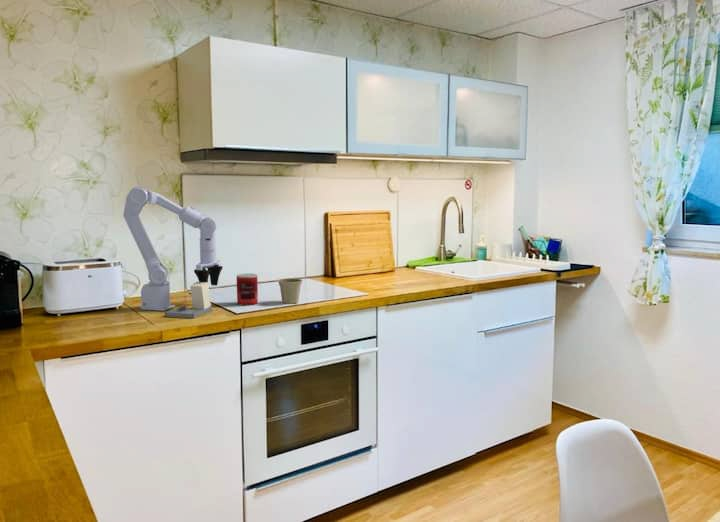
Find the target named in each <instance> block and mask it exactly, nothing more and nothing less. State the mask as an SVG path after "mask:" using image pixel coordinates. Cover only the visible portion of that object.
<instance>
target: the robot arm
mask: <svg viewBox="0 0 720 522" xmlns="http://www.w3.org/2000/svg"><path fill="white" fill-rule="evenodd" d="M147 203H148V205H158V206H160V207H162V208H164V209H166V210H168V211H170V212H171V213H174V214H175V215H178V218H179V221H181V222H182V223H185V224H187V225H188V226H190V227H192V228H194V229H199V231H200V232H199V233H200V234H199V235H200V237H199V255H200V256H199V257H200V261H199V263H197V264H195V269H194V270H193V272H194V274H195V276H196V277H197V279H198V282H208V283H209V280H210V285H211V286H214V287H215V286H218V283H219V279H220V275H221V272H222V270H223V266H222V265H221V260H220V259H218V260H217V238H216V232H215V231H216V229H217V225H216V222H215V221H214V220H213V219H212V218H210V217H208V216H207V214H206V213H201V212H199V211H197V210H195V207H193V206H189V205H187V206H183V207H182V206H181V205H179V204H177V203H175V202H174V201H172V200H171V199H169V198H166V197H165V196H163V195H162V194H160V193H158V192H154V191H152V190H148V189H146V188H145V187H142V186H135V187H133V188H131V189H130V190H129V192H128V194H127V196H126V197H125V203H124V204H125V205H124V208H123V213H122V214H123V218H124V220H125V223H126V224H127V226H128V229H129V231H130V233H131V235H132V237H133V240H134V241H135V243H136V246H137V248H138V250H139V252H140V254H141V256H142V259H143V260H144V263H145V266H146V269H147V271H148V275H147V276H148V280H149V282H148V283H145V284H143V286H142V287H141V290H140V300H141V301H140V303H141V307H140V309H139V310H141V311H142V310H143V311H144V310H145V311H166V310H170V309H173V308H176V305H175V304H171V293H170V292H171V291H170V281H168V280H167V279H168V274H169V270H168V268H167V267H166V265H163V264H162V261H161V259H160V258H159V256H158V254H157V251H156V250H155V247H154V246H153V244H152V241H151V239H150V237H149V235H148V233H147V231H146V228H145V227H144V224H143V222H142V220H141V218H140V213H141V212H142V210H143V207H145V205H146V204H147Z"/></svg>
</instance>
